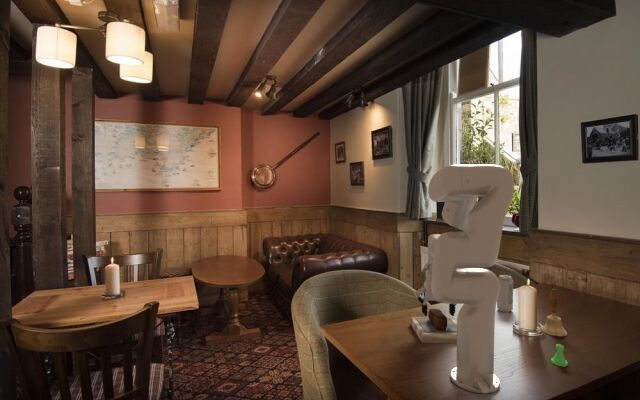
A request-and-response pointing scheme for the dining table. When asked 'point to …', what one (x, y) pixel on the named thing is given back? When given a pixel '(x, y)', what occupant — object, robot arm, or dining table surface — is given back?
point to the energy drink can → (505, 293)
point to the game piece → (559, 357)
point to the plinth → (434, 330)
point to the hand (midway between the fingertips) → (438, 314)
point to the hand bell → (554, 318)
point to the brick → (437, 319)
